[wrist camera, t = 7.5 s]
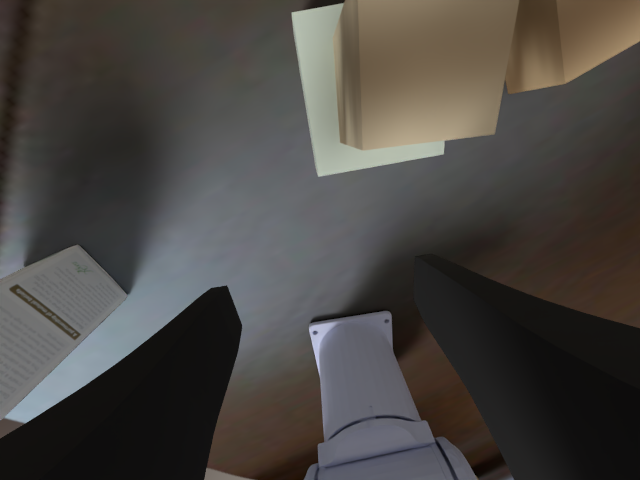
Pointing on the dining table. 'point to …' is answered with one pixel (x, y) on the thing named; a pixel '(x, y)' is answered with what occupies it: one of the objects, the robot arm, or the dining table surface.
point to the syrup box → (49, 317)
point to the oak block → (567, 39)
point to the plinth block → (321, 100)
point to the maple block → (420, 69)
